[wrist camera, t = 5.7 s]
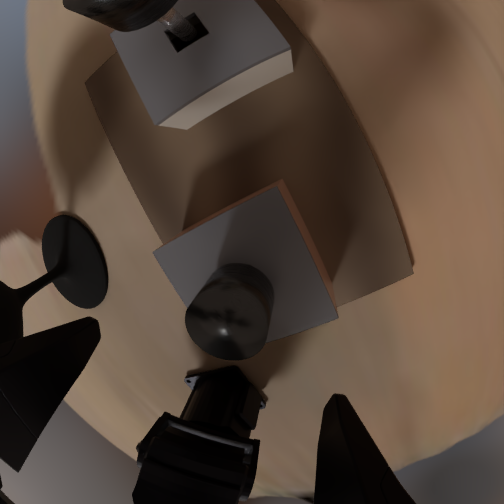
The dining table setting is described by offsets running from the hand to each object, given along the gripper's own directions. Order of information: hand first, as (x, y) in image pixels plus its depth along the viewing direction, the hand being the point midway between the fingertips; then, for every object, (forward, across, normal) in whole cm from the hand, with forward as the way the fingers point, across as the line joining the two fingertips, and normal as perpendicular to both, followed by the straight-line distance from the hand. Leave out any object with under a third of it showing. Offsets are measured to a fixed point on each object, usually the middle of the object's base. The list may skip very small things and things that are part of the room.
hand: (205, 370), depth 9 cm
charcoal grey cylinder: (+11, 0, 0) cm, 11 cm away
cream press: (+12, +6, -13) cm, 19 cm away
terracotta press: (+12, 0, 0) cm, 12 cm away
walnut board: (+12, +3, -6) cm, 14 cm away
